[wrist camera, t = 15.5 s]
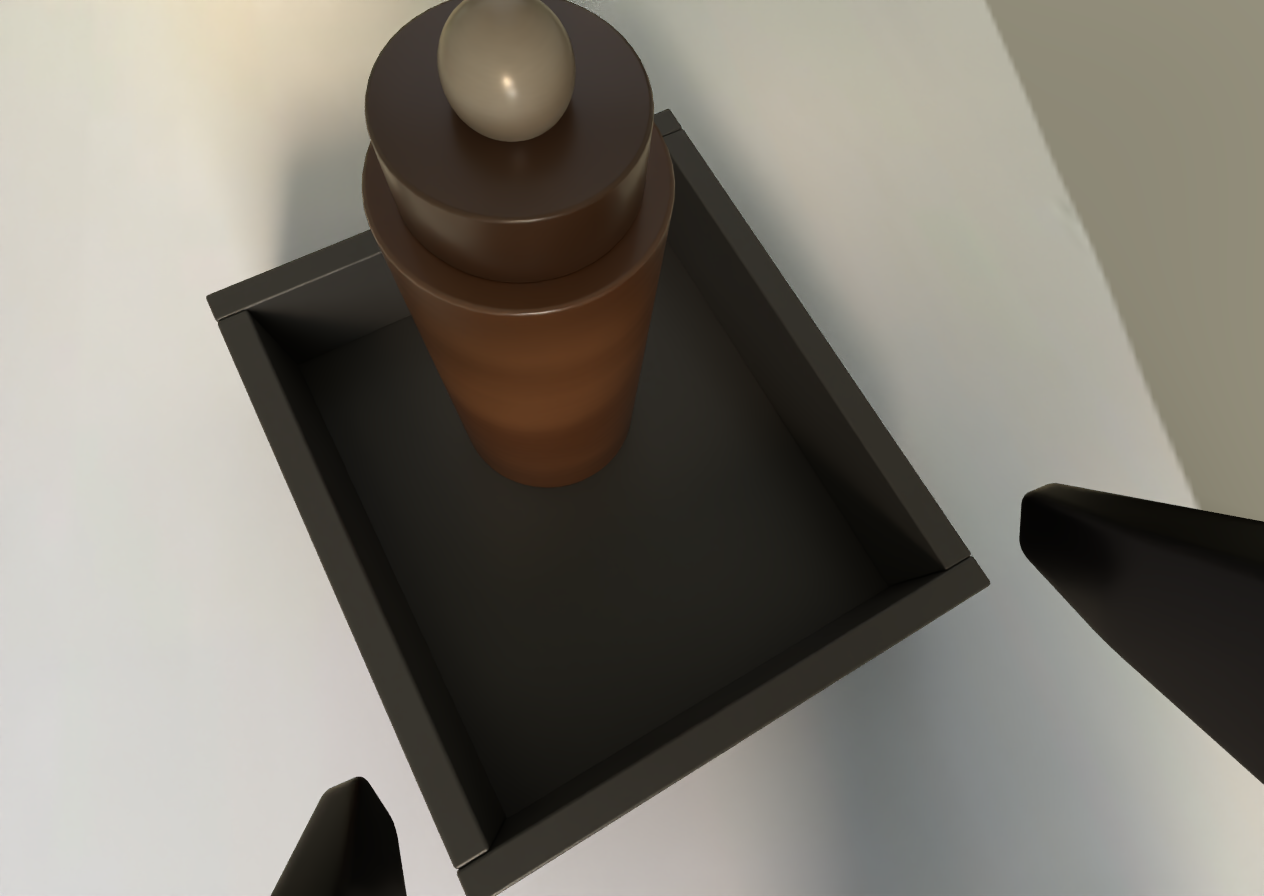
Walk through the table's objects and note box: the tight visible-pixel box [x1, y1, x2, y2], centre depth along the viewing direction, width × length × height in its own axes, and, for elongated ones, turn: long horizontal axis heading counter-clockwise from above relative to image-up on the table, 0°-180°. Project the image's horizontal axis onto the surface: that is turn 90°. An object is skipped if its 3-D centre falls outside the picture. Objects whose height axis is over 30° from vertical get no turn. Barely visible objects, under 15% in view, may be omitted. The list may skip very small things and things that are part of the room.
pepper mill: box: [362, 0, 675, 488], centre depth 15 cm, size 5×5×14 cm
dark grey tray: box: [206, 109, 990, 896], centre depth 19 cm, size 16×14×4 cm
